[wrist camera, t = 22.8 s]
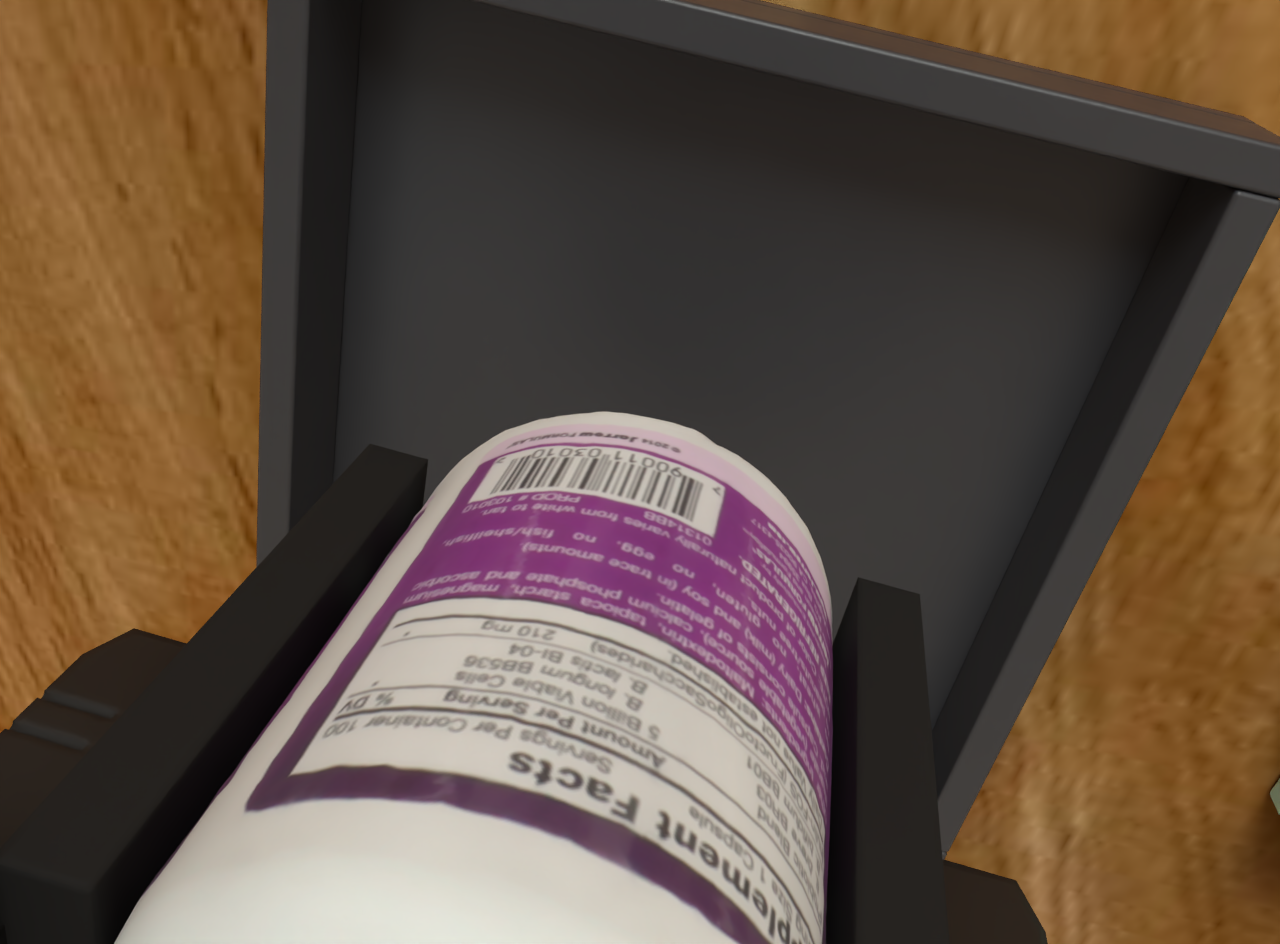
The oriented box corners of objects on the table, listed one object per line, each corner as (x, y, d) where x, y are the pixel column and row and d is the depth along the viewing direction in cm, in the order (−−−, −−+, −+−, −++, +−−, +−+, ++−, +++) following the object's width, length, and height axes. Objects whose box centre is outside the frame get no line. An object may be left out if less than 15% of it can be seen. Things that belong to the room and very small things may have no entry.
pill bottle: (636, 802, 15) (366, 1892, 7) (350, 567, 14) (-383, 1523, 6) (931, 604, 13) (1064, 1928, 4) (611, 301, 12) (-8, 1302, 3)
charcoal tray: (347, -100, 15) (267, -100, 13) (1246, 117, 15) (1311, 152, 13) (310, 605, 22) (252, 678, 20) (929, 781, 21) (937, 876, 19)
